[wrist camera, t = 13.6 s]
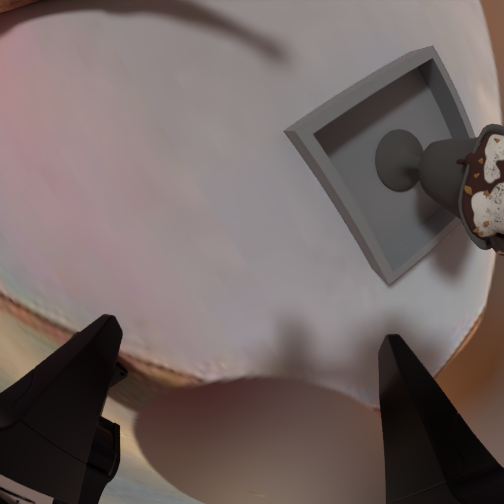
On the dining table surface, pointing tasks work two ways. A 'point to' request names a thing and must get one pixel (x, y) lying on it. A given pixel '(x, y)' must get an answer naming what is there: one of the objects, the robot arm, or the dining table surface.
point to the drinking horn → (13, 4)
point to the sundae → (453, 177)
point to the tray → (364, 151)
